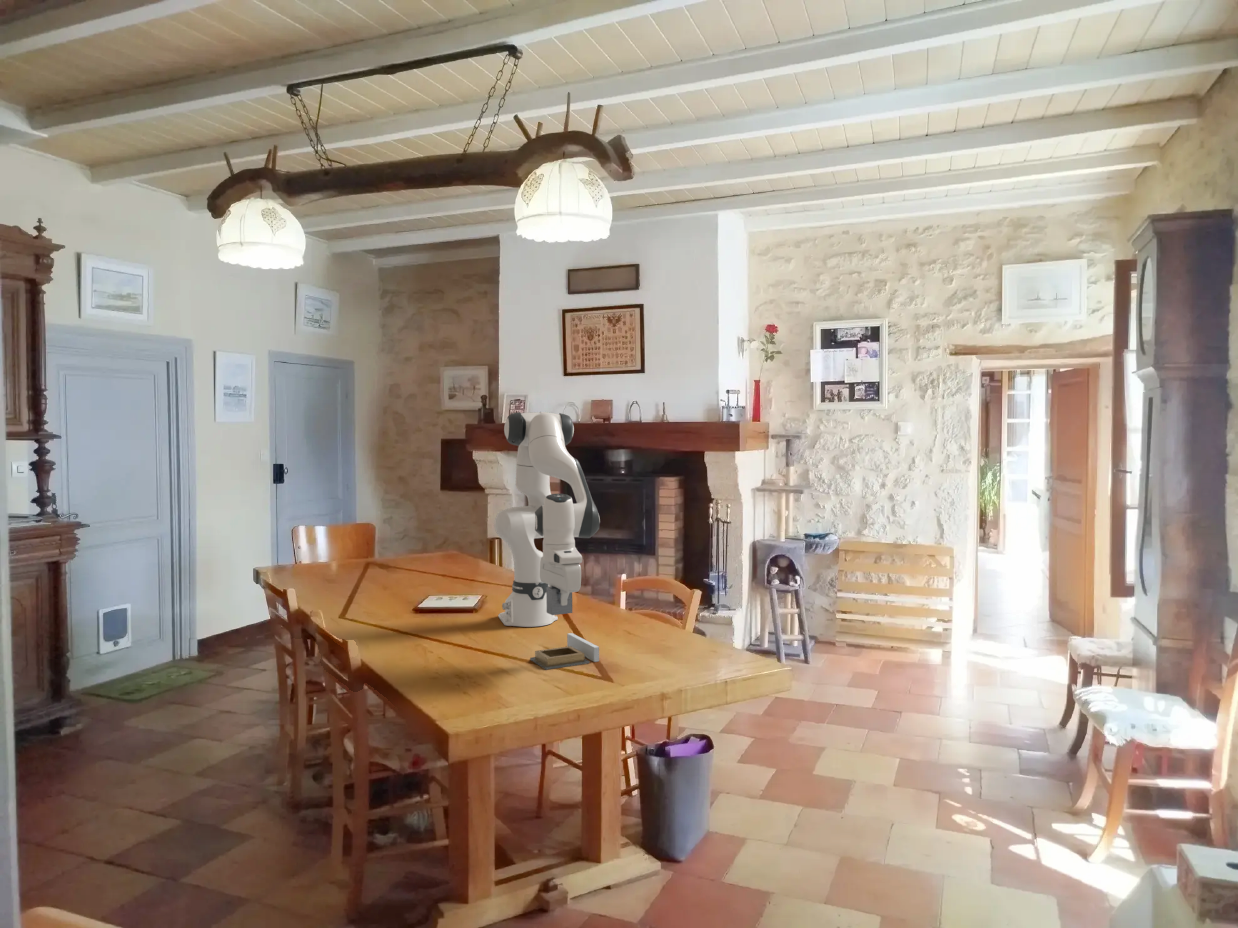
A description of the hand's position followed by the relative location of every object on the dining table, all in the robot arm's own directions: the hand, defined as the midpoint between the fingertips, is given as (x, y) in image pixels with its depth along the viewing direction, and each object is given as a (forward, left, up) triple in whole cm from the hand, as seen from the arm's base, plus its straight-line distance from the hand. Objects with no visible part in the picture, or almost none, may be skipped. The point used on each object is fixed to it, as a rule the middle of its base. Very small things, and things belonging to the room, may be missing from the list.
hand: (559, 603), depth 230 cm
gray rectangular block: (0, 0, -3) cm, 3 cm away
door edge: (-4, +9, -16) cm, 19 cm away
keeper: (0, 0, -16) cm, 16 cm away
